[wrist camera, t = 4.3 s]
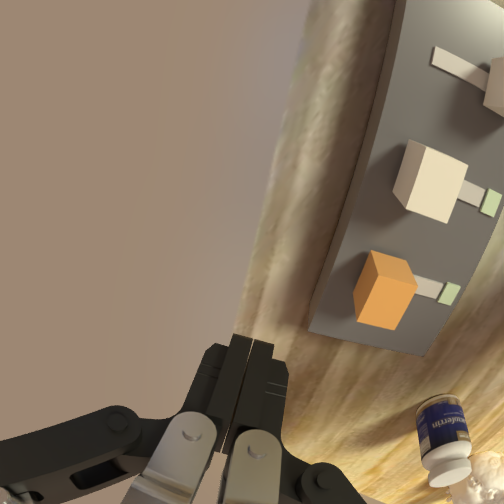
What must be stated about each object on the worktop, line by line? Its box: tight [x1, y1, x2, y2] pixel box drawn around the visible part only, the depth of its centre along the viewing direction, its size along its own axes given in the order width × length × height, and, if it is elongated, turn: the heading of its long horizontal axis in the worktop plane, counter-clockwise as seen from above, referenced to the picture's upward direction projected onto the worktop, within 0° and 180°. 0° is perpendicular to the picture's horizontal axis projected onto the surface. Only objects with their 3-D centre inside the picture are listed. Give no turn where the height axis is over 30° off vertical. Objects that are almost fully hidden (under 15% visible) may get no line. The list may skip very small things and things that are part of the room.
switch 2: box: [392, 139, 468, 224], centre depth 14 cm, size 2×3×3 cm
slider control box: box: [308, 0, 504, 357], centre depth 16 cm, size 32×10×4 cm, turn 168°
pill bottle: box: [416, 394, 472, 487], centre depth 25 cm, size 6×6×10 cm
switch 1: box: [353, 250, 418, 330], centre depth 18 cm, size 2×3×3 cm
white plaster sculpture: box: [446, 451, 504, 504], centre depth 30 cm, size 19×20×20 cm
